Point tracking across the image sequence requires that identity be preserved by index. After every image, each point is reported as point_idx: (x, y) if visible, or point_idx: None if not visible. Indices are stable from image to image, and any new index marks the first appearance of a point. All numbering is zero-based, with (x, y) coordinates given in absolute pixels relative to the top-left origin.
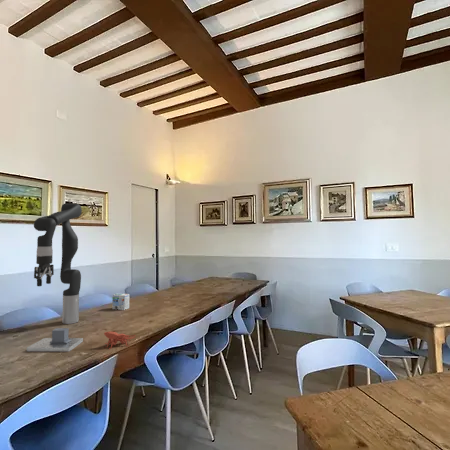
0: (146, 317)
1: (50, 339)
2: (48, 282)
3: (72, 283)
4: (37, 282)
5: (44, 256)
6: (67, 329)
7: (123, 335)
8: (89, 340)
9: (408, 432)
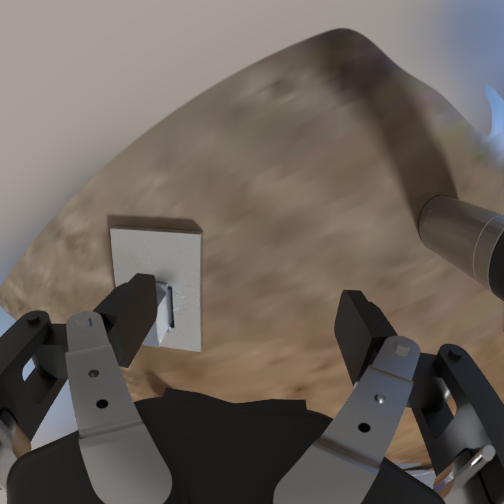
0: (411, 409)
1: (184, 264)
2: (340, 320)
3: None
4: (106, 304)
5: None
6: (152, 345)
7: None
8: (214, 357)
9: None
